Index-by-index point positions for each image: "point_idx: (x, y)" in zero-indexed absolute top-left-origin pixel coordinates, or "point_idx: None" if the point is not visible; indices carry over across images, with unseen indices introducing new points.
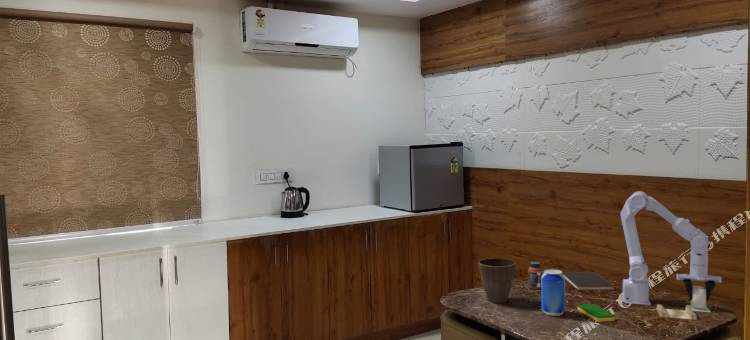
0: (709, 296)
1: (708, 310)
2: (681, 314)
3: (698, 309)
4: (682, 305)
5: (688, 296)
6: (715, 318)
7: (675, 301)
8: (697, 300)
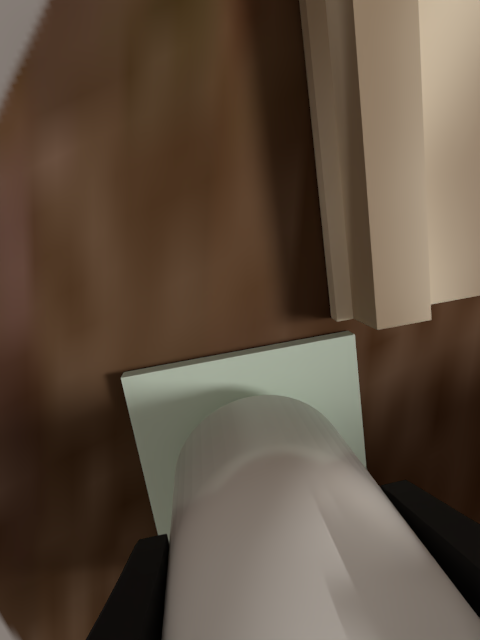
0: (100, 615)
1: (150, 430)
2: (468, 107)
3: None
4: None
5: None
6: (75, 175)
7: None
8: (310, 446)
